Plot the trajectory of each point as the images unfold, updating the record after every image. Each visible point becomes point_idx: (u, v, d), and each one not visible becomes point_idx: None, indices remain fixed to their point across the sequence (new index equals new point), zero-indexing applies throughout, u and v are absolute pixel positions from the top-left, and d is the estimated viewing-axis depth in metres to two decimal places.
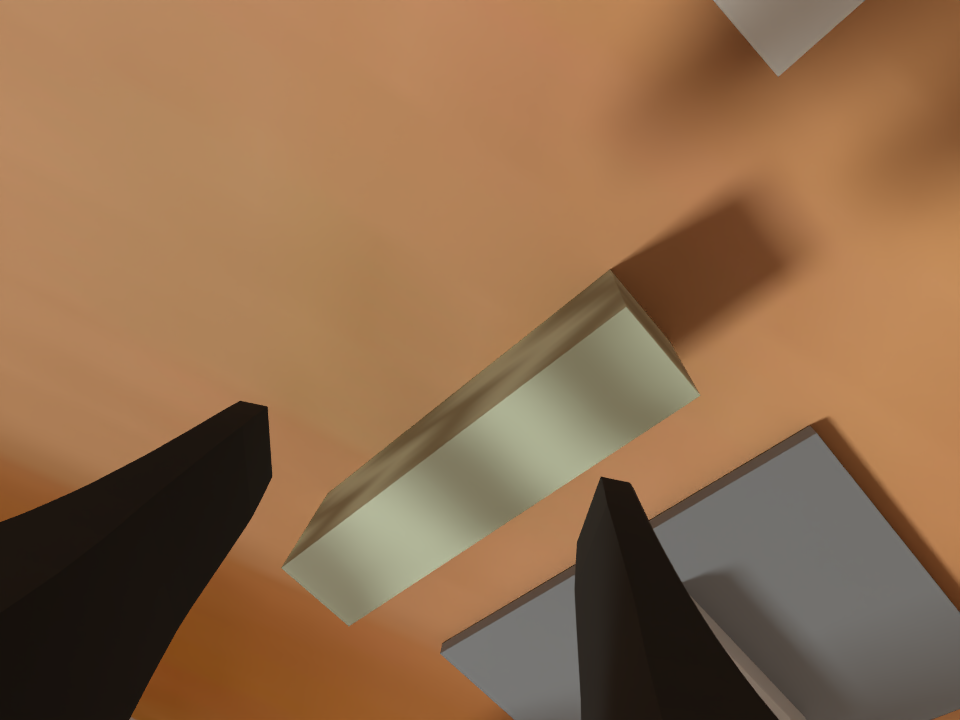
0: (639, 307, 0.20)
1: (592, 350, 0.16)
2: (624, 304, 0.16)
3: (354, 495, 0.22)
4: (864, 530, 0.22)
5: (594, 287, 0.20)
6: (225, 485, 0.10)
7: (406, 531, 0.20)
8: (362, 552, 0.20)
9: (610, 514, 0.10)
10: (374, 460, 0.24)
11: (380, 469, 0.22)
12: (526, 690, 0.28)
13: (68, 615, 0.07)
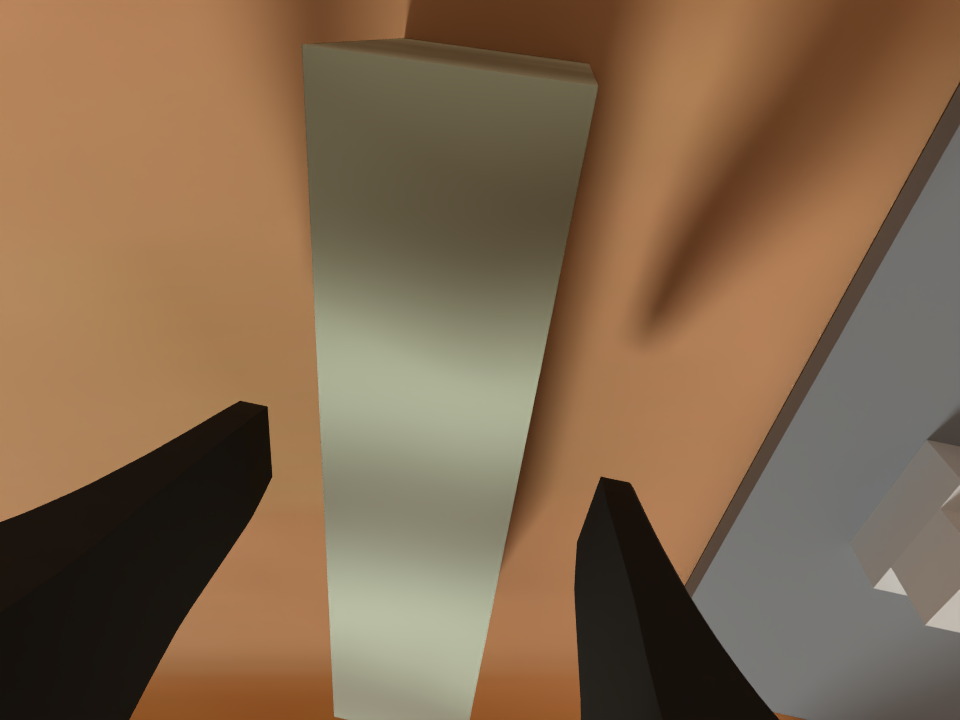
0: (474, 50, 0.10)
1: (340, 181, 0.08)
2: None
3: None
4: None
5: None
6: (225, 485, 0.10)
7: (403, 613, 0.12)
8: (388, 662, 0.13)
9: (610, 514, 0.10)
10: None
11: None
12: (794, 680, 0.18)
13: (68, 615, 0.07)
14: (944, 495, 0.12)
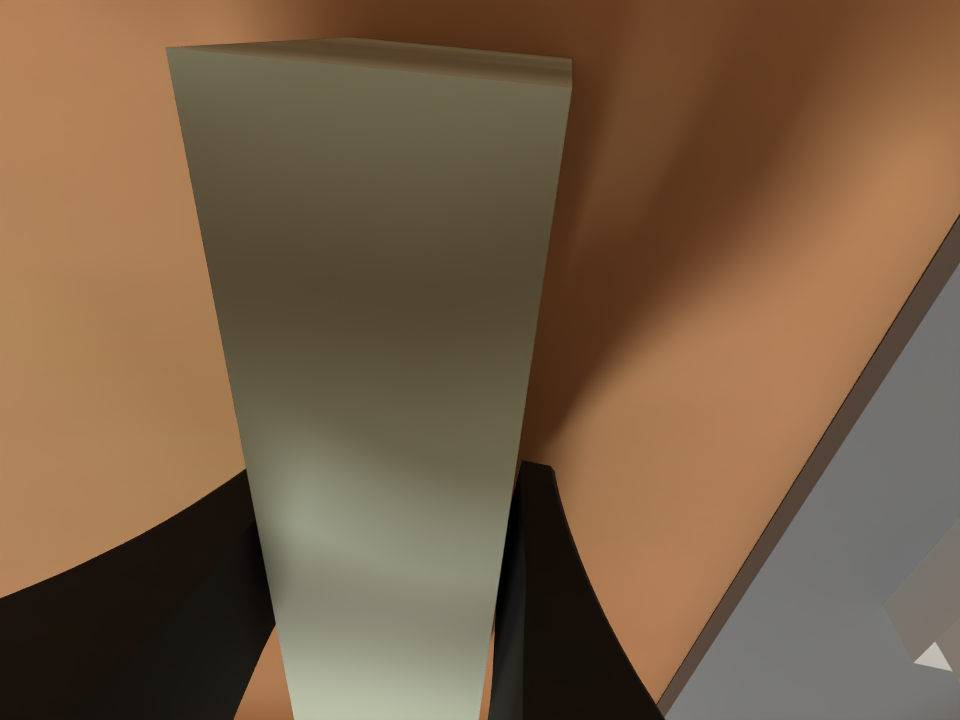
0: (429, 48, 0.08)
1: (239, 226, 0.06)
2: None
3: None
4: None
5: None
6: None
7: (377, 713, 0.10)
8: None
9: (521, 495, 0.10)
10: None
11: None
12: None
13: (188, 643, 0.07)
14: None
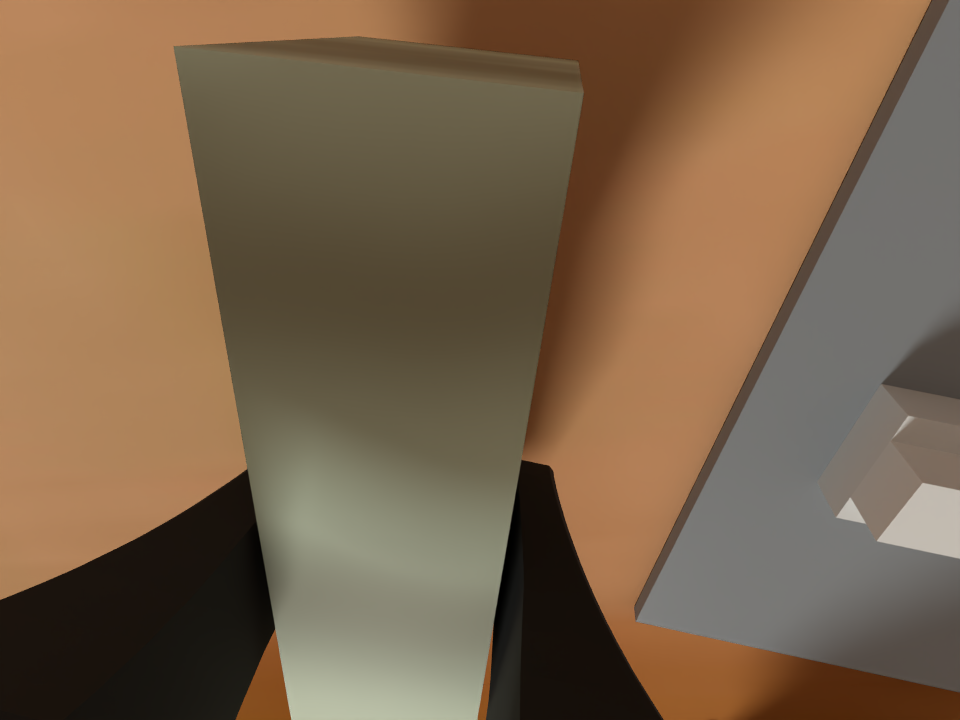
0: (436, 49, 0.08)
1: (245, 227, 0.06)
2: None
3: None
4: None
5: None
6: None
7: (375, 715, 0.10)
8: None
9: (519, 495, 0.10)
10: None
11: None
12: (771, 615, 0.20)
13: (190, 644, 0.07)
14: (894, 429, 0.14)
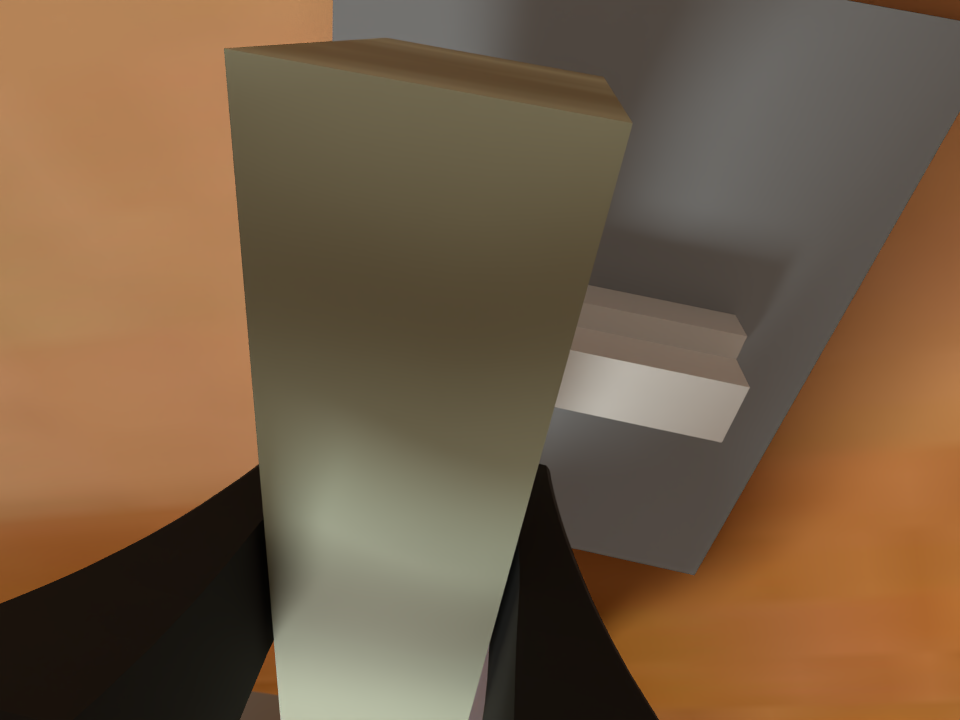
0: (466, 57, 0.08)
1: (281, 230, 0.06)
2: None
3: None
4: None
5: None
6: None
7: (365, 713, 0.10)
8: None
9: None
10: None
11: None
12: None
13: (195, 645, 0.07)
14: None
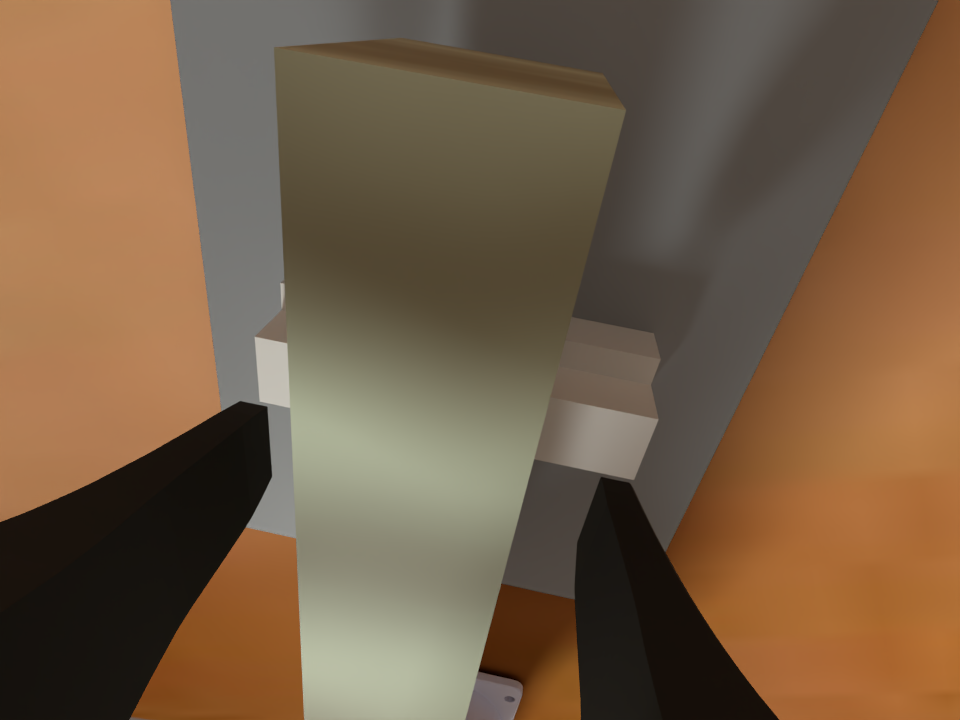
0: (477, 55, 0.09)
1: (317, 207, 0.06)
2: None
3: None
4: None
5: None
6: (225, 485, 0.10)
7: (383, 667, 0.11)
8: (365, 713, 0.12)
9: (610, 514, 0.10)
10: None
11: None
12: None
13: (68, 616, 0.07)
14: None
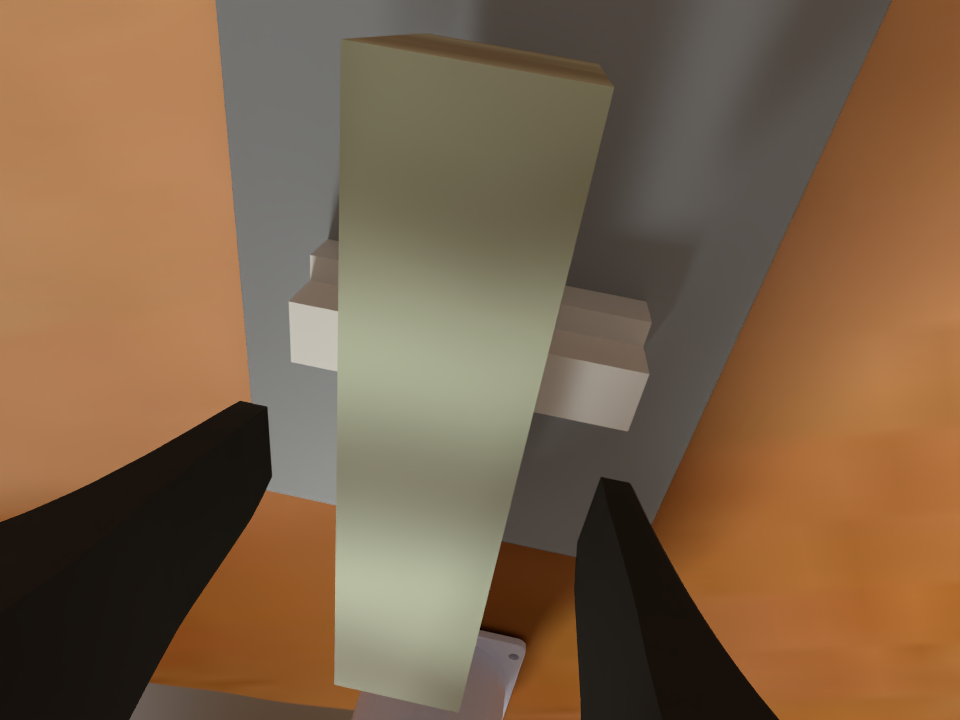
0: (492, 47, 0.10)
1: (369, 168, 0.08)
2: (349, 40, 0.08)
3: None
4: None
5: None
6: (225, 485, 0.10)
7: (407, 583, 0.13)
8: (390, 631, 0.14)
9: (610, 514, 0.10)
10: None
11: None
12: None
13: (68, 615, 0.07)
14: (312, 270, 0.17)
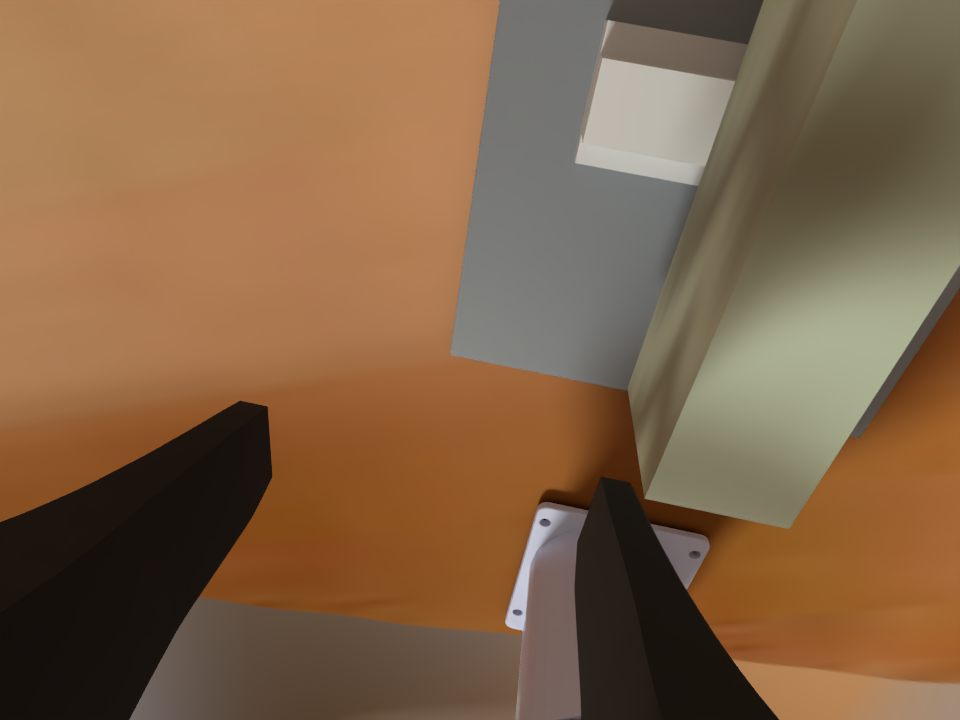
0: None
1: None
2: None
3: (677, 349, 0.14)
4: None
5: None
6: (225, 485, 0.10)
7: (808, 332, 0.11)
8: (752, 410, 0.12)
9: (610, 514, 0.10)
10: (665, 304, 0.16)
11: (690, 293, 0.14)
12: (569, 333, 0.21)
13: (68, 616, 0.07)
14: (603, 43, 0.15)
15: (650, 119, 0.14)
